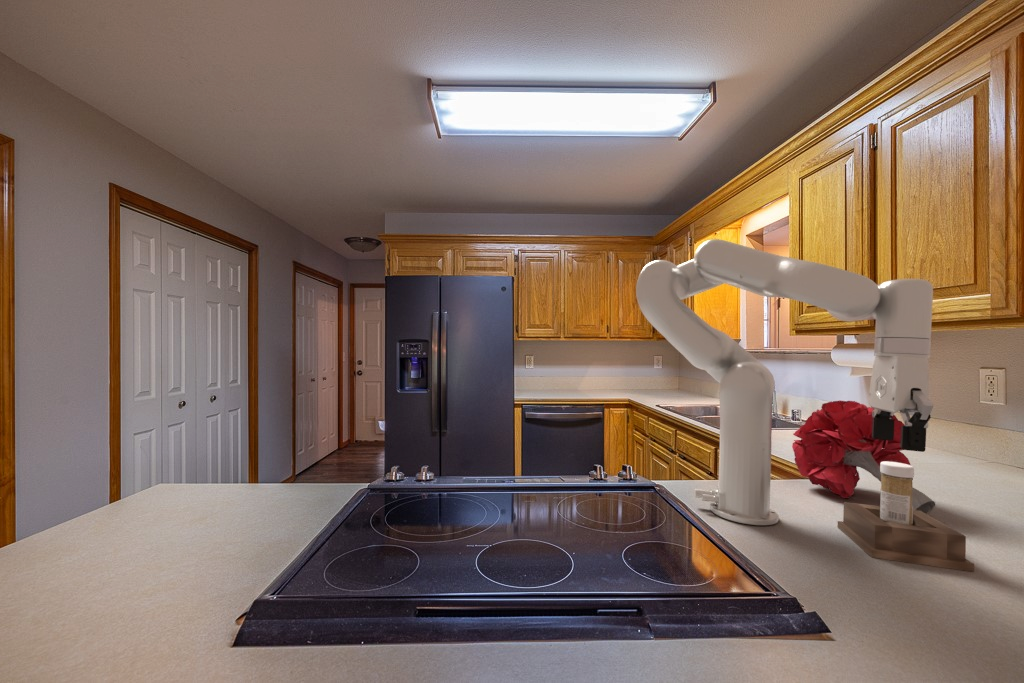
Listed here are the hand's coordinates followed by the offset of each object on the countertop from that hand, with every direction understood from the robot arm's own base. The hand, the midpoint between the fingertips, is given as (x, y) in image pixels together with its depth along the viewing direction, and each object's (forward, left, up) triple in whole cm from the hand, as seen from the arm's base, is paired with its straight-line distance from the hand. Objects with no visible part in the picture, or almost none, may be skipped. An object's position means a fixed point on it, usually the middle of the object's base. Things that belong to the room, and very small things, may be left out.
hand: (896, 444), depth 79 cm
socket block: (0, 0, -18) cm, 18 cm away
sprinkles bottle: (0, 0, -17) cm, 17 cm away
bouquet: (+6, +30, -18) cm, 36 cm away
